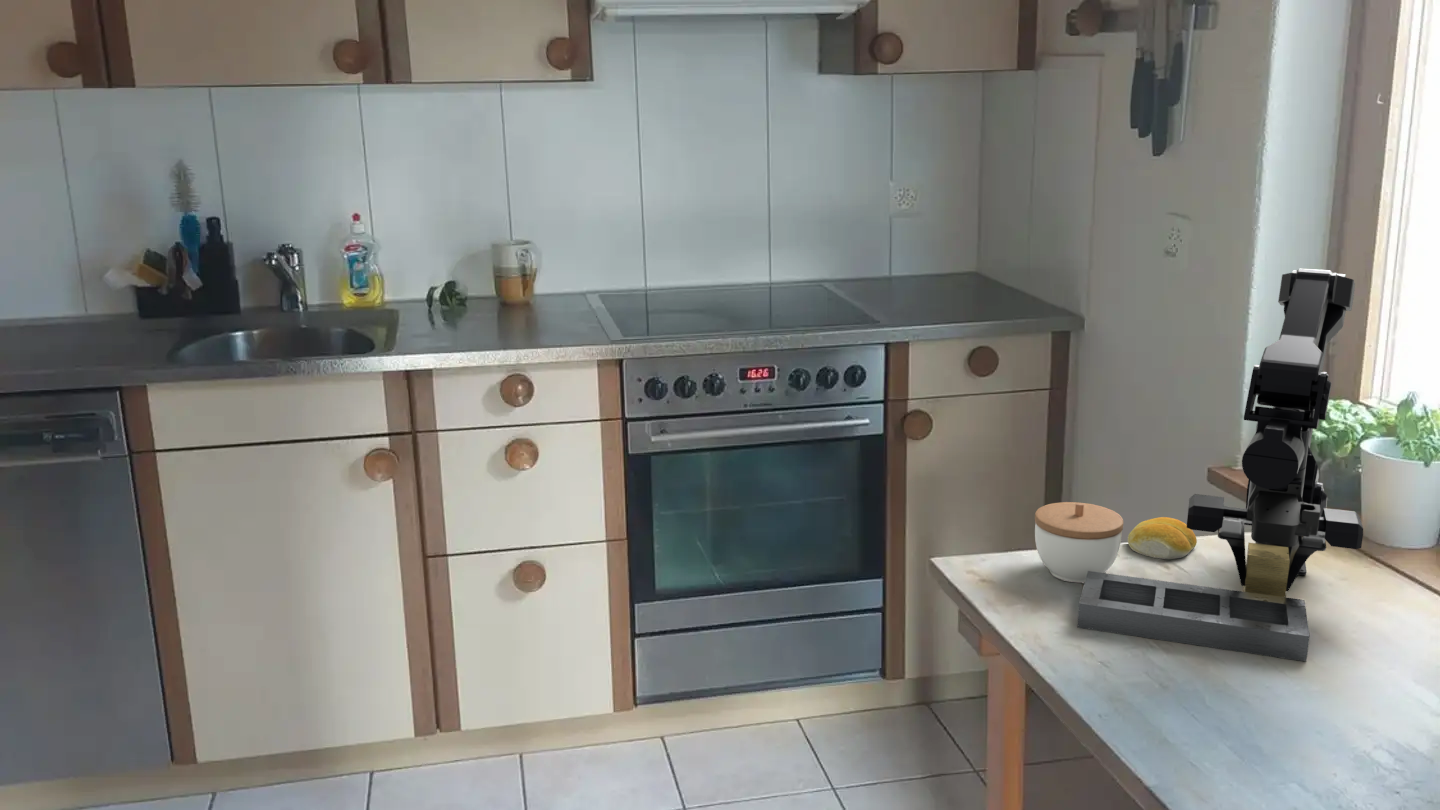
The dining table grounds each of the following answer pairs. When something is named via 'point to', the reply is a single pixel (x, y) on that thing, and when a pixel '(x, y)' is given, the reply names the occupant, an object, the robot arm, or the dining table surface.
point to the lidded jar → (1077, 539)
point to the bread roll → (1162, 538)
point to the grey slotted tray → (1195, 615)
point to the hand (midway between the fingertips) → (1264, 587)
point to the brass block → (1267, 569)
